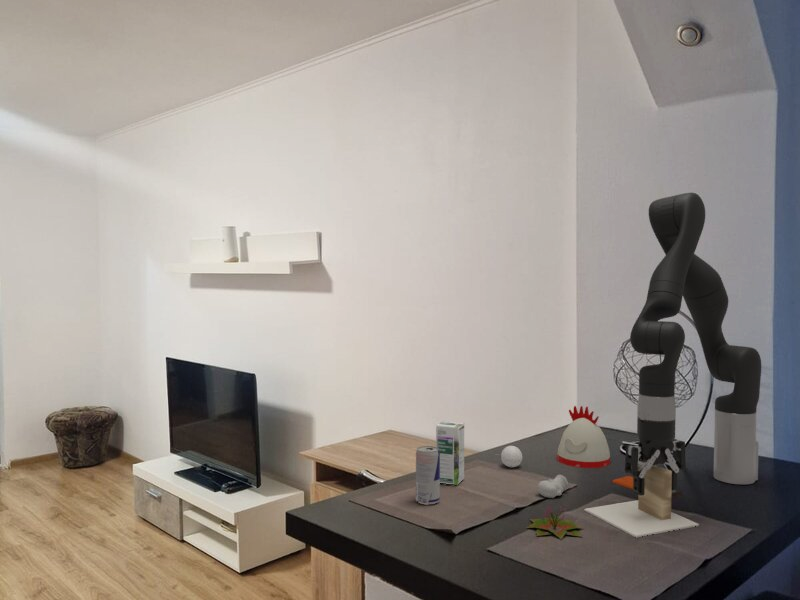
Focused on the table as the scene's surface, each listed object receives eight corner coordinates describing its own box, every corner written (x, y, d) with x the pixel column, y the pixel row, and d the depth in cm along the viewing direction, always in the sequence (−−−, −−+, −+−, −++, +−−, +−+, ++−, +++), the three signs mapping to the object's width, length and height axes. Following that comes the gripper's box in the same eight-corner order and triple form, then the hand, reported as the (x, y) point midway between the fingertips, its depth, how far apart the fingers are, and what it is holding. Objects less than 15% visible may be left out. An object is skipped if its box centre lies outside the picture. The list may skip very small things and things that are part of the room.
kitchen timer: (569, 451, 194) (569, 399, 193) (616, 459, 186) (617, 405, 185) (549, 462, 183) (550, 407, 182) (599, 471, 174) (600, 413, 174)
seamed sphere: (525, 466, 179) (525, 445, 179) (517, 471, 174) (517, 450, 174) (499, 461, 183) (499, 441, 183) (490, 466, 178) (490, 445, 178)
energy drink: (443, 499, 153) (443, 447, 152) (434, 507, 148) (434, 453, 147) (421, 496, 155) (421, 444, 154) (412, 503, 150) (412, 450, 150)
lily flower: (520, 519, 142) (521, 498, 142) (578, 520, 141) (578, 498, 141) (529, 542, 130) (529, 519, 130) (592, 543, 129) (592, 520, 129)
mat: (643, 501, 152) (643, 499, 151) (698, 526, 137) (698, 524, 137) (584, 510, 146) (584, 508, 146) (635, 537, 131) (636, 535, 131)
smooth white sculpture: (547, 505, 152) (532, 493, 156) (572, 498, 157) (556, 486, 161) (551, 489, 151) (536, 477, 155) (576, 482, 155) (560, 470, 159)
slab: (647, 507, 146) (648, 462, 146) (671, 518, 140) (672, 470, 139) (638, 509, 145) (638, 463, 145) (661, 520, 139) (662, 472, 138)
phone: (628, 474, 169) (682, 491, 156) (628, 480, 169) (682, 496, 156) (611, 479, 165) (665, 496, 152) (611, 484, 165) (664, 502, 153)
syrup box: (435, 483, 164) (435, 424, 163) (442, 477, 170) (443, 419, 169) (457, 486, 162) (457, 426, 161) (464, 479, 167) (464, 421, 167)
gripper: (669, 409, 148) (668, 482, 149) (616, 414, 143) (616, 490, 143) (696, 416, 141) (694, 493, 142) (641, 422, 136) (640, 501, 136)
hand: (655, 491), depth 142 cm, fingers open, 8 cm apart
